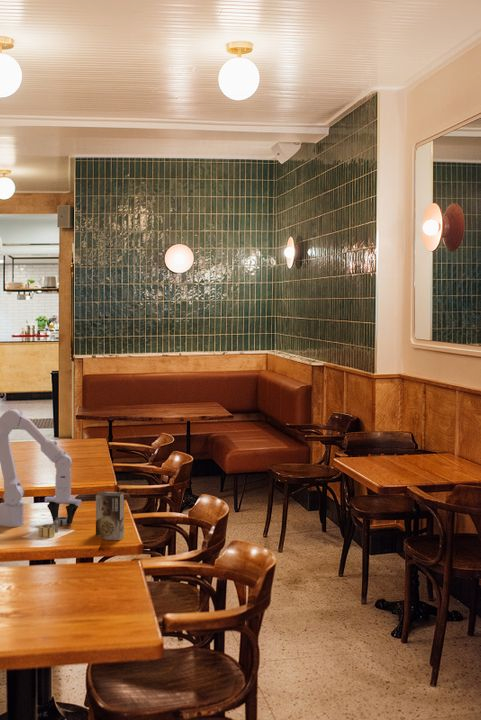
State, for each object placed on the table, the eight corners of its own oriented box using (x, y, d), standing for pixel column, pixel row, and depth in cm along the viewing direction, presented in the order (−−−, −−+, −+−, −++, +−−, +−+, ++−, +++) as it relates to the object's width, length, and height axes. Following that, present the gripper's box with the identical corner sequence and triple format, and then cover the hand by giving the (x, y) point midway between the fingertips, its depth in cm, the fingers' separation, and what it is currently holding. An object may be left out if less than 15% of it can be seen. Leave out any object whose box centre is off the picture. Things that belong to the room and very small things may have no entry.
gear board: (21, 540, 287) (21, 525, 286) (46, 530, 302) (46, 516, 302) (51, 544, 283) (51, 529, 283) (75, 533, 298) (75, 519, 298)
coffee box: (124, 536, 296) (125, 491, 295) (119, 540, 290) (120, 495, 289) (99, 534, 297) (100, 490, 296) (94, 539, 290) (95, 494, 290)
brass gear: (37, 537, 286) (37, 528, 286) (40, 533, 292) (40, 524, 292) (53, 537, 286) (53, 528, 286) (56, 533, 292) (56, 524, 292)
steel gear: (52, 528, 305) (52, 519, 305) (60, 524, 310) (60, 516, 310) (65, 529, 303) (65, 520, 303) (72, 526, 308) (72, 517, 308)
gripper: (85, 486, 307) (85, 522, 308) (52, 483, 312) (51, 518, 313) (76, 490, 301) (75, 526, 301) (41, 486, 305) (41, 522, 306)
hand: (62, 523), depth 306 cm, fingers closed on steel gear, 5 cm apart
